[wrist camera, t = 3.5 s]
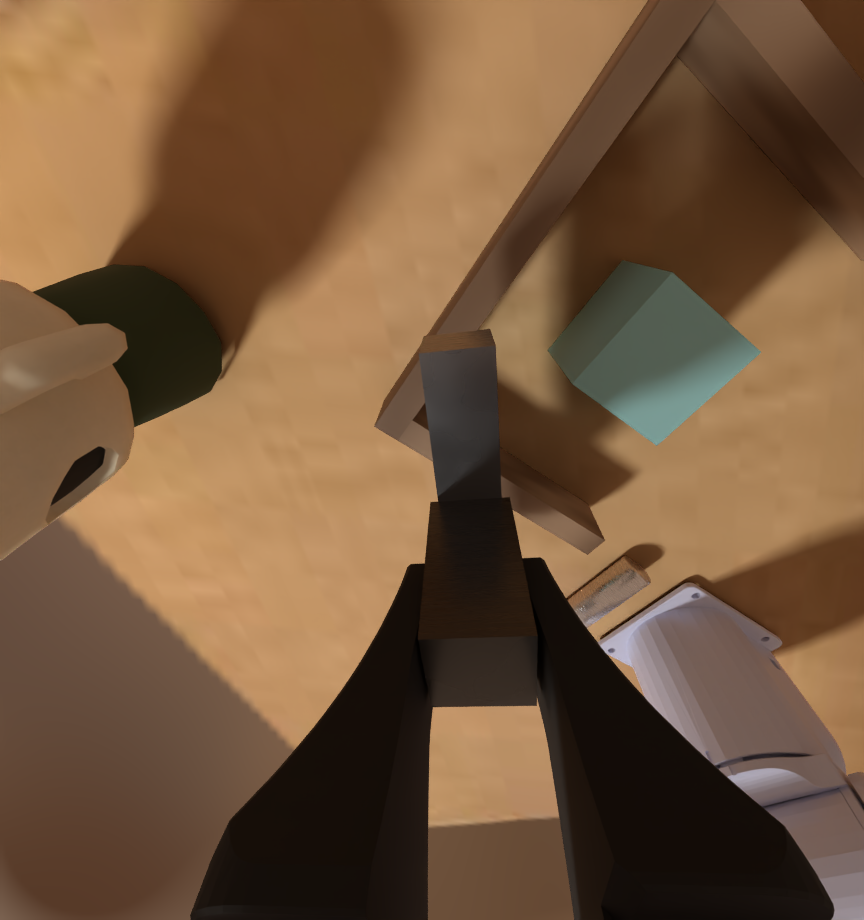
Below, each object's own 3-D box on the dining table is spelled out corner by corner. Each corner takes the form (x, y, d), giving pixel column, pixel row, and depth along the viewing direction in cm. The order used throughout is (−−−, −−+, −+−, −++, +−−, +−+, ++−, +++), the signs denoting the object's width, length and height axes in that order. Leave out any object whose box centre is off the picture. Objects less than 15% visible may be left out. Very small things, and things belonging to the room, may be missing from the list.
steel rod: (618, 552, 25) (637, 580, 23) (636, 559, 26) (656, 586, 24) (494, 649, 30) (503, 677, 28) (513, 651, 31) (523, 679, 29)
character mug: (132, 437, 22) (-197, 660, 11) (19, 310, 19) (-610, 444, 8) (299, 360, 19) (93, 552, 8) (202, 199, 16) (-352, 156, 5)
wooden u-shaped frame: (893, 231, 16) (979, 234, 13) (572, 517, 23) (587, 554, 21) (670, -33, 12) (726, -98, 10) (384, 400, 20) (374, 426, 18)
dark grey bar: (498, 328, 12) (541, 426, 6) (508, 606, 18) (535, 798, 12) (415, 336, 12) (377, 440, 6) (452, 608, 18) (450, 797, 12)
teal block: (694, 323, 18) (761, 351, 14) (617, 401, 20) (657, 445, 16) (621, 259, 17) (672, 272, 13) (547, 350, 19) (572, 383, 15)
